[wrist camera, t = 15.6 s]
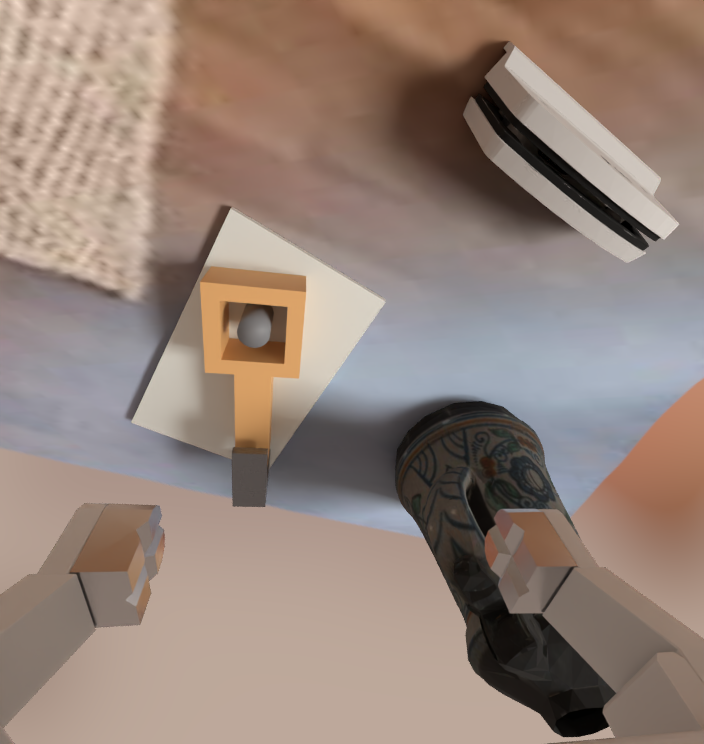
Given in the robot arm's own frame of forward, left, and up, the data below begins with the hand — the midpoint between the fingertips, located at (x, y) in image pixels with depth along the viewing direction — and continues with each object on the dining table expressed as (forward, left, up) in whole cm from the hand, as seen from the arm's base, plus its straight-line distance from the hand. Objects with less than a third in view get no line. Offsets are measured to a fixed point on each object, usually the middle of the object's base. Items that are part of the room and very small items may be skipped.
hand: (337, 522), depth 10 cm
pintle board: (0, -12, -27) cm, 30 cm away
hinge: (+12, +16, -28) cm, 34 cm away
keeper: (+4, -20, -27) cm, 34 cm away
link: (+1, -12, -26) cm, 29 cm away
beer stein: (+25, -12, -27) cm, 39 cm away
